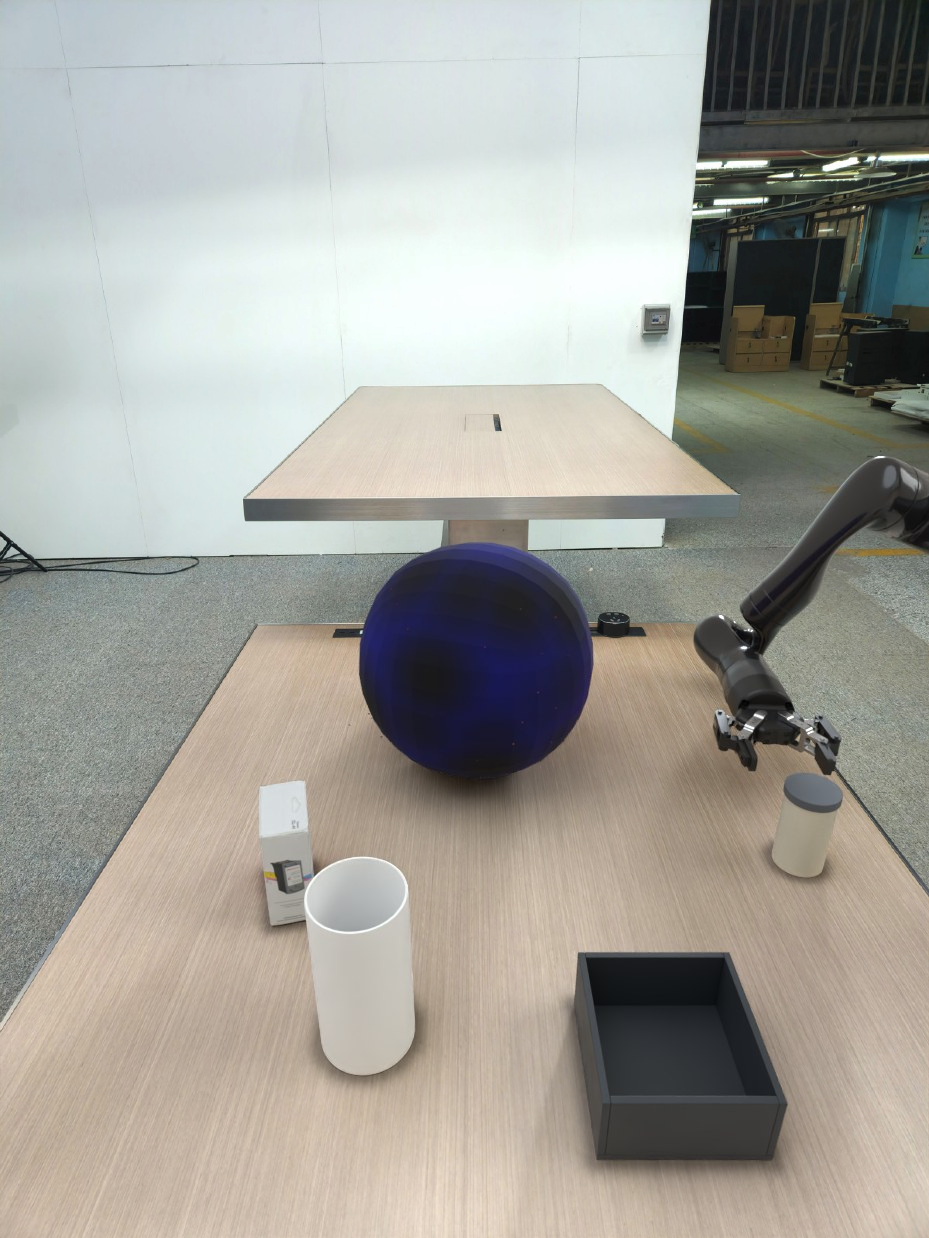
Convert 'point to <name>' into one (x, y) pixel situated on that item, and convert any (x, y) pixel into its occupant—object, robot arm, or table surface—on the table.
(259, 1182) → the table surface
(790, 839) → the container
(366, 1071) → the cup
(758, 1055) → the open storage box
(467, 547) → the ball
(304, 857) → the ink box
